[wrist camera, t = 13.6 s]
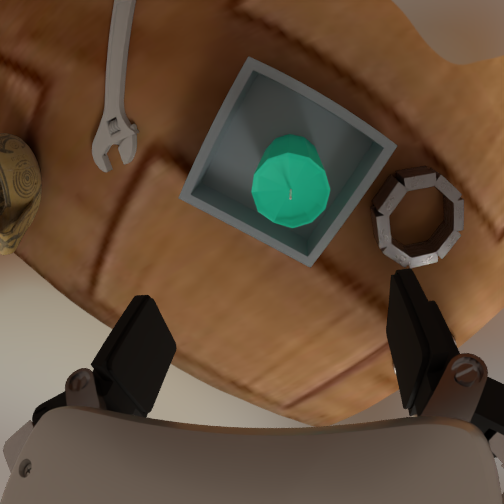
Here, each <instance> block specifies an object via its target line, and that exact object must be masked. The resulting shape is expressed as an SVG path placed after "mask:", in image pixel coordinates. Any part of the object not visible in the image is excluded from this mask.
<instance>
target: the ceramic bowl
mask: <svg viewBox="0 0 504 504" xmlns="http://www.w3.org/2000/svg"><path fill="white" fill-rule="evenodd" d="M41 193H42V178H41V172H40V168H39V165H38V162H37V160H36V157H35V155H34V154H33V152H32V150H31V149H30V147H29V146H28V145H27V144H26V143H25V142H24V141H23V140H22V139H21V138H19V137H17V136H15V135H12V134H7V133H0V254H1V255H7V254H11V253H13V252H14V251H15V250H16V248H17V247H18V245H19V243H20V241H21V239H22V237H23V236H24V234H25V232H26V230H27V229H28V227H29V226H30V225H31V223H32V222H33V220H34V217H35V215H36V213H37V210H38V208H39V204H40V200H41Z"/></svg>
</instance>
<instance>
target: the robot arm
mask: <svg viewBox="0 0 504 504" xmlns="http://www.w3.org/2000/svg"><path fill="white" fill-rule="evenodd" d="M386 334H387V339H388V343H389V347H390V351H391V355H392V359H393V367H394V372H395V374H396V376H397V380H398V385H399V389H400V394H401V399H402V404H403V408H404V409H407V408H408V410H409V415H410V416H412V415H413V417H406V418H398V419H390V420H381V421H375V422H367V423H357V424H348V425H335V426H323V427H306V428H238V427H221V426H208V425H197V424H188V423H179V422H172V421H164V420H158V419H151V418H146V417H147V414H148V413H149V412H151V410H152V408H153V406H154V403H155V400H156V398H157V396H158V393H159V391H160V388H161V386H162V383H163V381H164V378H165V376H166V373H167V371H168V369H169V366H170V364H171V361H172V359H173V357H174V354H175V352H176V343H175V341H174V339H173V337H172V335H171V333H170V331H169V329H168V327H167V325H166V323H165V321H164V319H163V317H162V315H161V313H160V311H159V309H158V307H157V305H156V303H155V301H154V299H153V298H151V297H150V296H149V295H137V296H135V297H134V298H133V299H132V301H131V302H130V304H129V305H128V307H127V308H126V310H125V311H124V313H123V314H122V316H121V317H120V319H119V320H118V322H117V323H116V325H115V327H114V328H113V330H112V331H111V333H110V334H109V336H108V337H107V339H106V341H105V342H104V344H103V345H102V347H101V349H100V350H99V352H98V353H97V355H96V357H95V358H94V360H93V362H92V363H91V365H92V367H93V368H94V370H93V372H92V371H91V370H90V369H87V368H81V369H79V370H77V371H75V372H73V373H72V374H71V375H70V376H69V378H68V379H67V381H66V384H65V392H63V393H61V394H59V395H57V396H56V397H54V398H52V399H50V400H48V401H46V402H44V403H42V404H41V405H39V406H38V407H37V408H36V409H35V411H34V413H33V417H32V421H33V422H32V421H31V420H30V421H28V422H27V423H26V424H25V425H24V426H23V427H21V428H20V429H19V430H18V431H17V432H16V433H15V434H14V435H12V436H11V437H10V438H9V439H8V440H7V441H6V442H5V445H4V449H3V452H4V456H5V459H6V461H7V464H8V467H9V469H10V471H11V475H10V478H9V480H8V482H7V485H6V488H5V490H4V493H3V496H2V499H1V502H0V504H504V493H503V494H502V495H501V488H500V482H499V476H498V472H497V468H496V464H495V460H494V458H495V457H498V458H499V459H500V461H501V462H502V463H503V464H502V465H501V466H502V467H503V468H504V384H502V383H500V382H498V381H496V380H494V379H491V378H489V377H487V376H488V370H487V366H486V364H485V363H484V361H483V360H482V359H481V358H480V357H478V356H476V355H474V354H469V353H463V354H460V353H459V351H458V348H457V346H456V342H455V339H454V338H453V336H452V335H451V333H450V330H449V328H448V326H447V324H446V322H445V320H444V318H443V316H442V314H441V312H440V309H439V307H438V305H437V304H436V302H435V301H428V300H427V298H426V296H425V294H424V292H423V290H422V288H421V286H420V284H419V282H418V280H417V278H416V276H415V274H414V272H413V271H412V269H410V268H409V269H402V270H397V271H396V273H395V275H391V282H390V296H389V307H388V317H387V326H386Z"/></svg>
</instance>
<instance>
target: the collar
mask: <svg viewBox="0 0 504 504" xmlns="http://www.w3.org/2000/svg"><path fill="white" fill-rule="evenodd" d="M396 178H397V179H396ZM396 178H395V177H393V176H392V175H391V174H390V176H389V177H388V179H387V180H386V182H385V183H384V184H383V186H382V187H381V189H380V190H379V192H378V193H377V194H376V196H375V197H374V199H373V200H372V203H373V204H374V206H373V207H370V209H371V216H372V224H373V232H374V237H375V239H376V241H377V244H378V246H379V248H380V249H381V251H382V253H384V254H385V255H387V256H388V257H390V258H391V259H393V260H394V261H396V262H397V263H399V264H400V265H402V266H403V267H406V266H407V265H408V266H409V268H414V267H419V266H423V265H427V264H431V263H435V262H438V256H439V257H440V258H442V259H443V258H444V256H445V255H446V254H447V253H448V251H449V250H450V249H451V248H452V246H453V245H454V244H455V243H456V241H457V240H458V239H459V238H460V236H461V234H460V233H459V232H458V231H460V230H463V226H464V199H462V198H461V197H460V196H461V195H462V194H461V193H460V192H459V191H458V190H457V189H456V188H455V187H454V186H453V185H452V184H451V183H450V182H449V181H447V180H446V179H445V178H444V177H443V176H442V175H441V174H440V173H438V172H437V171H435V170H434V169H432V168H430V169H429V168H428V167H426V166H422V167H416V168H410V169H404V170H398V171H396ZM432 186H435V187H436V188H437V189H438V190H439V191H440V192H441V193H442V194H443V198H444V221H443V222H442V223H441V225H440V226H439V227H438V229H437V230H436V231H435V233H434V234H433V235H432V236H431V238H430V239H429V240H428V241H424V242H420V243H415V244H411V245H406V246H404V245H402V244H401V243H399V242H398V241H397V240H395V239H394V238H392V237H391V232H390V222H389V216H390V214H391V213H392V212H393V210H394V209H395V208H396V206H397V205H398V203H399V202H400V201H401V199H402V198H403V197H404V195H405V194H406V192H407V191H411V190H416V189H421V188H427V187H432Z"/></svg>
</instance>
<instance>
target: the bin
mask: <svg viewBox="0 0 504 504" xmlns="http://www.w3.org/2000/svg"><path fill="white" fill-rule="evenodd" d="M288 134H292V135H297V136H302V137H305V138H306V139H307V140H308V141H309V142H310V143H311V144H313V145H314V146H315V148H316V150H317V153H318V155H319V157H320V160H321V162H322V165H323V167H324V170H325V173H326V176H327V179H328V183H329V186H330V194H329V197H328V201H327V205H326V209H325V210H324V211H323V212H322V213H321V214H320V215H319V216H318V217H317V218H316V219H315V220H314V221H313V222H312V223H309V224H305V225H302V226H299V227H295V228H290V227H286V226H283V225H280V224H276V223H273V222H272V221H270V220H269V219H268V218H266V217H265V216H263V215H262V214H261V213H259V212H258V211H257V208H256V205H255V202H254V199H253V196H252V193H251V190H252V184H253V177H254V173H255V171H256V169H257V167H258V165H259V163H260V160H261V158H262V156H263V154H264V152H265V150H266V148H267V147H268V146H269V145H270V144H271V143H272V142H273V141H274V139H275V138H278V137H281V136H284V135H288ZM396 147H397V145H396V144H395V143H393V142H392V141H391V140H389V139H388V138H387V137H385V136H384V135H383V134H381V133H380V132H379V131H377V130H376V129H374V128H373V127H372V126H370V125H369V124H367V123H366V122H364V121H363V120H361V119H360V118H358V117H357V116H355V115H354V114H352V113H351V112H349V111H348V110H346V109H345V108H343V107H342V106H340V105H338V104H337V103H335V102H334V101H332V100H330V99H329V98H327V97H325V96H324V95H322V94H320V93H319V92H317V91H315V90H313V89H312V88H310V87H308V86H306V85H305V84H303V83H301V82H299V81H297V80H295V79H294V78H292V77H290V76H288V75H286V74H284V73H282V72H280V71H278V70H276V69H274V68H272V67H270V66H268V65H266V64H264V63H262V62H260V61H257V60H255V59H253V58H251V57H249V56H248V58H247V60H246V62H245V63H244V65H243V67H242V69H241V70H240V72H239V74H238V76H237V78H236V79H235V81H234V83H233V85H232V87H231V89H230V91H229V92H228V94H227V96H226V98H225V100H224V102H223V104H222V106H221V108H220V110H219V112H218V114H217V116H216V118H215V120H214V122H213V124H212V126H211V128H210V130H209V132H208V134H207V136H206V138H205V140H204V142H203V144H202V146H201V149H200V151H199V153H198V155H197V157H196V159H195V162H194V164H193V166H192V168H191V170H190V173H189V175H188V177H187V180H186V182H185V184H184V186H183V189H182V191H181V193H180V196H179V199H181V200H183V201H185V202H187V203H189V204H191V205H193V206H195V207H197V208H198V209H200V210H202V211H204V212H206V213H208V214H210V215H212V216H214V217H216V218H218V219H220V220H221V221H223V222H225V223H227V224H229V225H231V226H233V227H235V228H237V229H239V230H241V231H242V232H244V233H246V234H248V235H250V236H252V237H254V238H256V239H258V240H260V241H261V242H263V243H265V244H267V245H269V246H271V247H273V248H275V249H277V250H278V251H280V252H282V253H284V254H286V255H288V256H290V257H292V258H293V259H295V260H297V261H299V262H301V263H303V264H305V265H306V266H308V267H310V268H311V266H312V265H313V264H314V262H315V261H316V260H317V258H318V257H319V256H320V254H321V253H322V252H323V251H324V249H325V248H326V247H327V245H328V244H329V243H330V241H331V240H332V239H333V237H334V236H335V234H336V233H337V232H338V230H339V229H340V228H341V226H342V225H343V224H344V222H345V221H346V219H347V218H348V217H349V215H350V214H351V213H352V211H353V210H354V208H355V207H356V206H357V204H358V203H359V201H360V200H361V199H362V197H363V196H364V194H365V193H366V191H367V190H368V189H369V187H370V186H371V184H372V183H373V181H374V180H375V179H376V177H377V176H378V174H379V173H380V171H381V170H382V168H383V167H384V165H385V164H386V162H387V161H388V159H389V158H390V156H391V155H392V153H393V152H394V150H395V149H396Z"/></svg>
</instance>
